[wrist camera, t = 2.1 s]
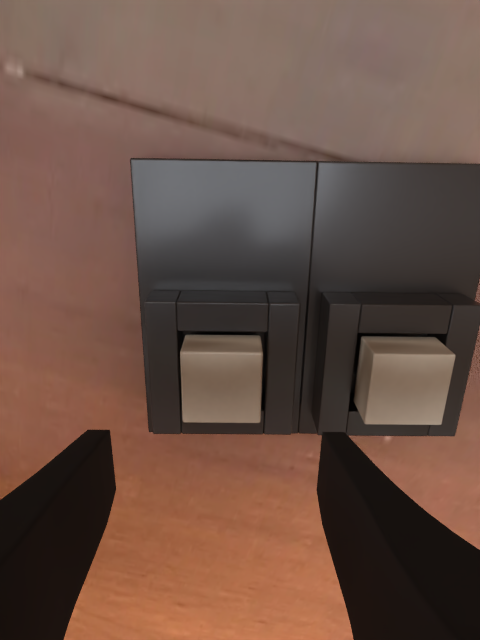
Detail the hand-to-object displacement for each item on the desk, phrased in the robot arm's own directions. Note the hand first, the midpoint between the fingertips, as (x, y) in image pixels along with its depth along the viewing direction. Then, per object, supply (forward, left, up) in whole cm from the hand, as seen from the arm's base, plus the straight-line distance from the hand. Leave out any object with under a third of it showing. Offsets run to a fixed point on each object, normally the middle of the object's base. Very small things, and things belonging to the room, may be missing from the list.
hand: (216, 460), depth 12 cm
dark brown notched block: (+2, -7, -9) cm, 12 cm away
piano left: (+2, 0, -9) cm, 10 cm away
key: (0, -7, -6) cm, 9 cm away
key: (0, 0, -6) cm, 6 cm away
